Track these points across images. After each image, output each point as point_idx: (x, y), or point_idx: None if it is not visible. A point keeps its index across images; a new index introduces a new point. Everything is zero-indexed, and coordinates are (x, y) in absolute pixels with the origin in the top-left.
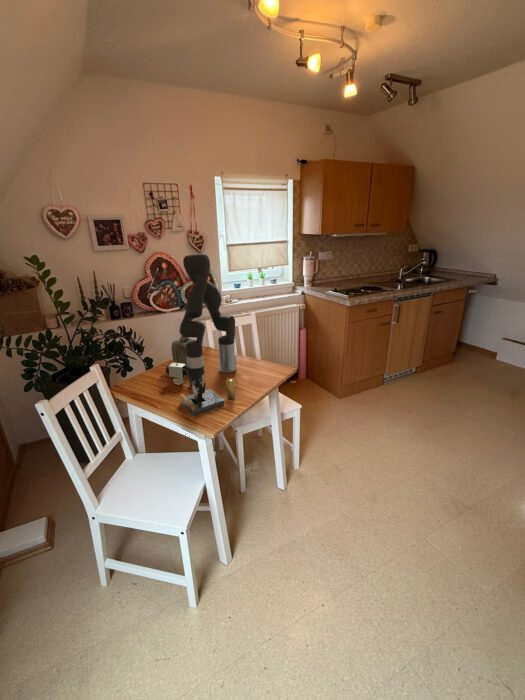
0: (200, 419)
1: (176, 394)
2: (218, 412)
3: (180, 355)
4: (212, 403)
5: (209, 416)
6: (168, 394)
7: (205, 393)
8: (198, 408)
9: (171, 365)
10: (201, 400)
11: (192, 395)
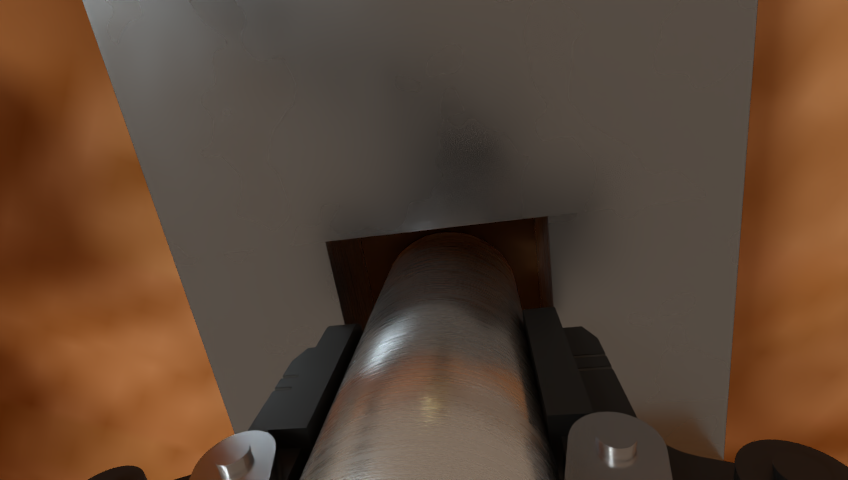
0: (811, 369)
1: (58, 412)
2: (833, 71)
3: None
4: (726, 136)
5: (834, 244)
6: (42, 475)
7: (245, 126)
8: (723, 410)
9: None
10: (512, 297)
11: (245, 352)
